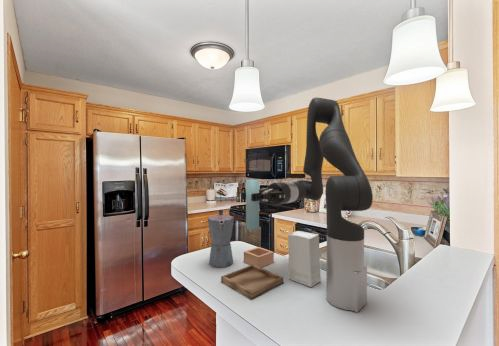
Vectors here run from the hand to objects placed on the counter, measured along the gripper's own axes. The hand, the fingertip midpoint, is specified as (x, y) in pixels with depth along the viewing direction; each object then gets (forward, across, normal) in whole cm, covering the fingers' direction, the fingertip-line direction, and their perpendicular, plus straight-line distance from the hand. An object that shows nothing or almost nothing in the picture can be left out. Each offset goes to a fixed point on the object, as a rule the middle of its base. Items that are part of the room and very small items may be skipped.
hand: (247, 196), depth 71 cm
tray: (-2, 0, +27) cm, 27 cm away
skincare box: (-15, +10, +27) cm, 32 cm away
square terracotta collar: (-15, -10, +27) cm, 32 cm away
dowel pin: (-2, 0, +10) cm, 10 cm away
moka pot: (-4, -19, +27) cm, 34 cm away
